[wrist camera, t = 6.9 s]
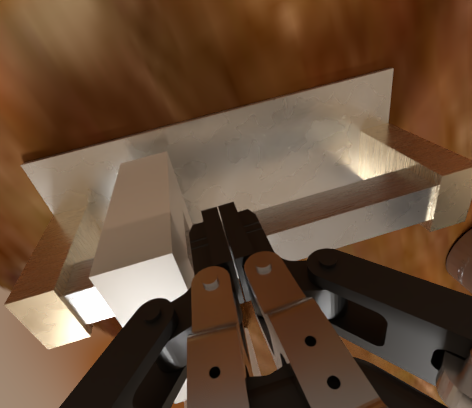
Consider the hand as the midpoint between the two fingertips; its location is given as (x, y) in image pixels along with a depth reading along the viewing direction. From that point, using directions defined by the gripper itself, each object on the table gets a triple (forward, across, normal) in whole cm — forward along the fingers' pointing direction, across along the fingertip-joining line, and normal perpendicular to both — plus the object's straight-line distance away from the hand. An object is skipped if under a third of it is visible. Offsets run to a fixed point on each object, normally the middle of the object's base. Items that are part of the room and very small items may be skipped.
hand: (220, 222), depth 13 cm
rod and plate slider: (+10, -2, +4) cm, 11 cm away
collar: (+8, +4, +4) cm, 9 cm away
